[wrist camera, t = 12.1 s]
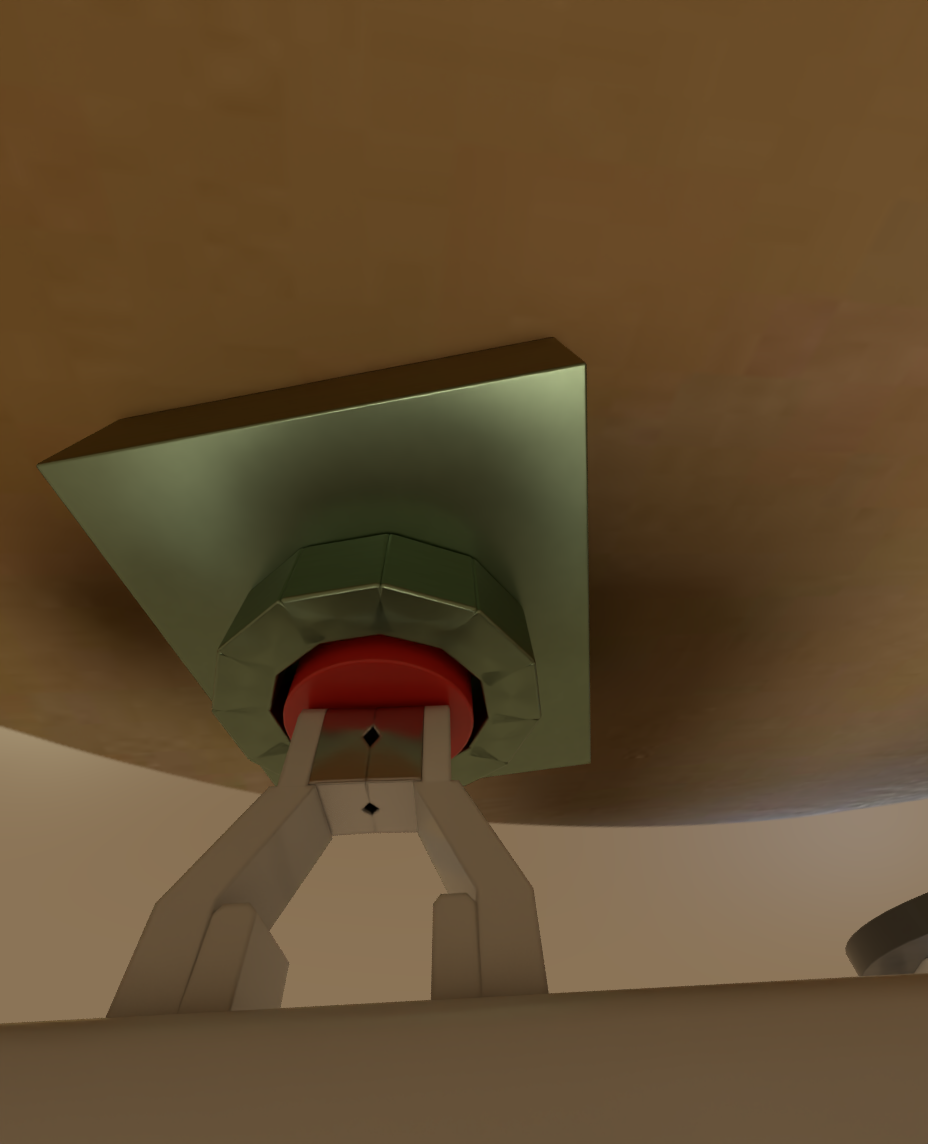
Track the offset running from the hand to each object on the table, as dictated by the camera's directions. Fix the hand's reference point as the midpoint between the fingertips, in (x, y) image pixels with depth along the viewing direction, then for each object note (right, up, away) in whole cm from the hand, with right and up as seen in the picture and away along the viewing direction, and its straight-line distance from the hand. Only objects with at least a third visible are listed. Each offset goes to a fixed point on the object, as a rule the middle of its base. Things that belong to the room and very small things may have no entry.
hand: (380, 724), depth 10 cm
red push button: (0, +1, +2) cm, 2 cm away
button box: (0, +3, +4) cm, 5 cm away
